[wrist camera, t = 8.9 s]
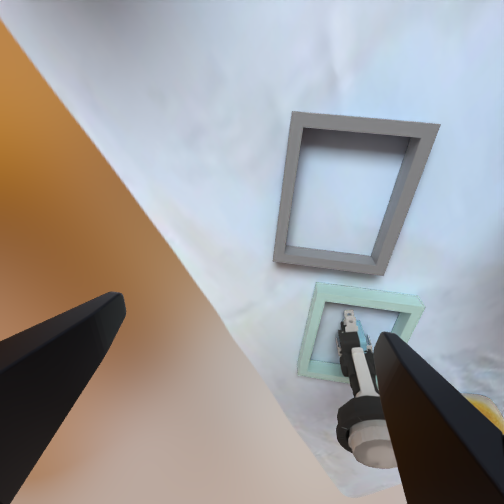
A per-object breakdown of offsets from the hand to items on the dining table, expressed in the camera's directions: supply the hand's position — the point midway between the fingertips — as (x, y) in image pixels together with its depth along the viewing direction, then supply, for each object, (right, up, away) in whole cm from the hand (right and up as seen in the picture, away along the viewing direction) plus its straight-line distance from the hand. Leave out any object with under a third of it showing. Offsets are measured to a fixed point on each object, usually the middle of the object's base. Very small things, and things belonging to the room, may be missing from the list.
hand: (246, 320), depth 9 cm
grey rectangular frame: (+7, +6, +10) cm, 14 cm away
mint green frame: (+10, -5, +16) cm, 20 cm away
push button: (+10, -5, +17) cm, 20 cm away
